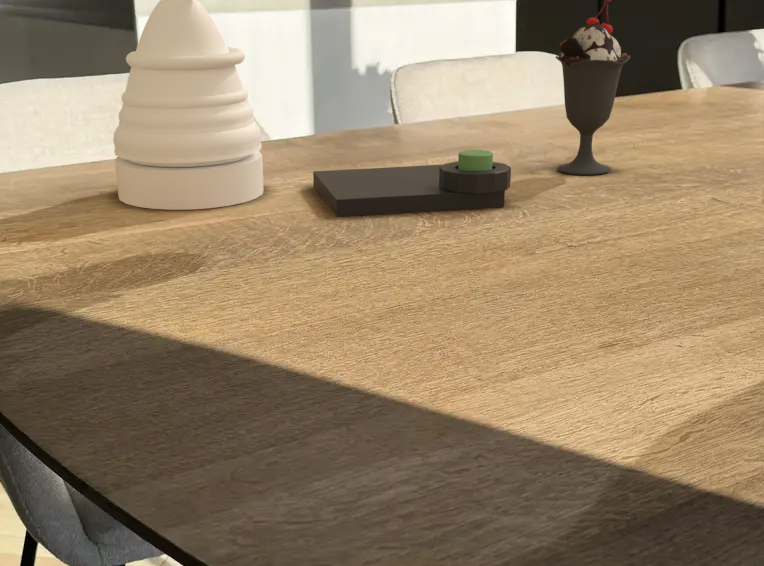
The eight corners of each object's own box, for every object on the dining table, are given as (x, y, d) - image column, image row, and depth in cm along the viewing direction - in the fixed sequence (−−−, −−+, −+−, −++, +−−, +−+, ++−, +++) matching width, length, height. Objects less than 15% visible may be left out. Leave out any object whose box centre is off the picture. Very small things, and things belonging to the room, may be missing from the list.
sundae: (615, 163, 108) (630, -4, 101) (623, 177, 102) (640, 0, 95) (546, 163, 109) (556, -3, 102) (550, 176, 102) (561, 1, 96)
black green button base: (472, 178, 103) (473, 145, 101) (517, 208, 91) (519, 171, 90) (313, 186, 101) (312, 153, 99) (338, 219, 89) (338, 181, 88)
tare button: (486, 167, 94) (487, 148, 93) (496, 174, 91) (497, 154, 90) (454, 169, 93) (454, 150, 93) (463, 175, 91) (464, 156, 90)
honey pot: (293, 189, 100) (287, -29, 92) (190, 216, 91) (174, -23, 83) (191, 173, 107) (178, -30, 100) (87, 197, 98) (64, -24, 91)
